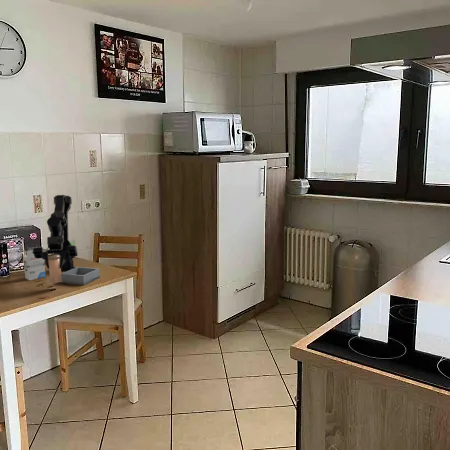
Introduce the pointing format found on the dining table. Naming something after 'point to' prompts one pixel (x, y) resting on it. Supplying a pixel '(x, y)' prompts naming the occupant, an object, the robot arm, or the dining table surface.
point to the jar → (54, 268)
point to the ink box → (33, 266)
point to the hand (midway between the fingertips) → (54, 268)
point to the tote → (80, 275)
